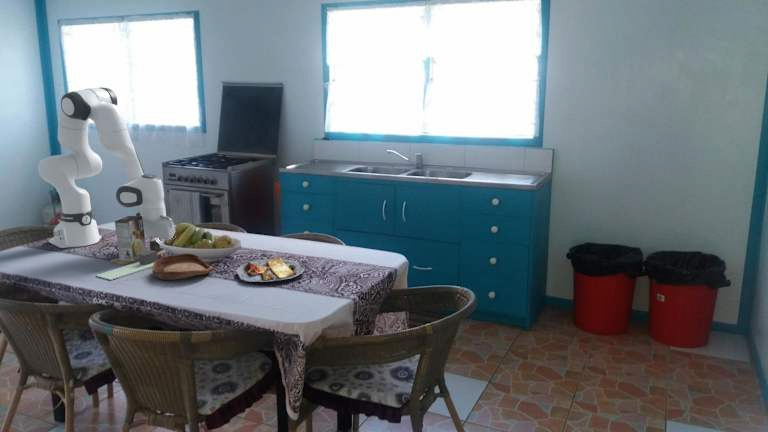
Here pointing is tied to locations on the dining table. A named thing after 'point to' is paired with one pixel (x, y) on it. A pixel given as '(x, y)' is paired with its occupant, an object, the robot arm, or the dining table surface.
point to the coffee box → (130, 237)
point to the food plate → (269, 270)
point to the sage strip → (132, 266)
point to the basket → (180, 267)
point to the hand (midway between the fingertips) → (157, 246)
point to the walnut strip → (152, 247)
